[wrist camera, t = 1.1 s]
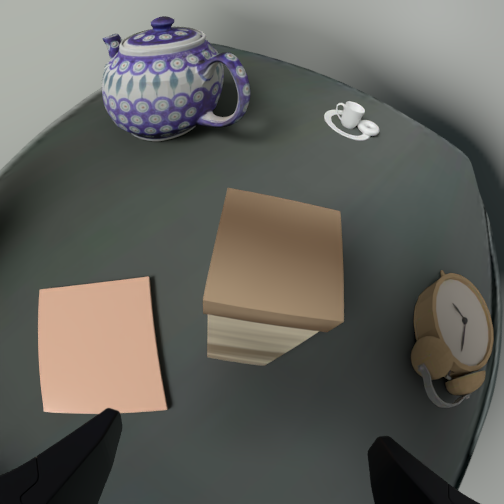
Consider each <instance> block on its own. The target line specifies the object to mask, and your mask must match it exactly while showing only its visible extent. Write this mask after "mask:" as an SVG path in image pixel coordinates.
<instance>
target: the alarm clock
mask: <svg viewBox="0 0 504 504" xmlns="http://www.w3.org/2000/svg"><path fill="white" fill-rule="evenodd" d="M440 274H441V278H440V279H439V280H437V281H436V282H435V283H433V284H432V285H431V286H430V287H427V288H426V289H425V290H424V291H423V292H422V293H421V294H420V295H419V297H418V300H417V303H416V305H415V310H414V321H413V322H414V329H415V337H416V340H417V342H416V343H415V345H414V347H413V349H412V352H411V362H412V366H413V368H414V370H415V371H416V372H417V373H418V374H419V375H420V376H421V377H423V382H424V387H425V391H426V393H427V395H428V397H429V399H430V400H431V401H432V402H433V403H434V404H435V405H436V406H438V407H441V408H449V407H454V406H456V405H458V404H460V403H461V402H462V401H463V400H464V399H469V397H470V394H472V393H471V392H473V391H475V390H477V389H478V388H479V387H480V386H481V385H482V383H483V382H484V379H485V371H480V372H476V373H472V374H469V375H467V374H468V373H471V372H473V371H477V370H479V369H481V368H482V367H483V366H484V365H485V364H486V363H487V361H488V359H489V357H490V355H491V351H492V346H493V326H492V321H491V316H490V313H489V310H488V308H487V305H486V303H485V300H484V299H483V297H482V296H481V294H480V292H479V291H478V289H477V288H476V287H475V286H474V285H473V284H472V283H471V282H470V281H469V280H468V279H466V278H464V277H463V276H461V275H459V274H454V273H449V274H445V273H444V271H443V270H441V271H440ZM463 375H464V376H463ZM461 376H462V377H461ZM441 377H445V378H446V379H448V380H450V381H447V382H445V385H446V389H447V390H448V392H449V393H451V394H453V395H464V396H461V397H459V398H458V399H457V400H456V401H455V402H454V403H452V404H449V403H446V402H444V401H443V400H441V399H440V397H439V396H438V395H437V394H436V392H435V390H434V387H433V384H432V380H435V379H440V378H441ZM453 378H456V379H453ZM451 379H453V380H451Z"/></svg>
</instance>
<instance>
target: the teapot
mask: <svg viewBox="0 0 504 504" xmlns="http://www.w3.org/2000/svg"><path fill="white" fill-rule="evenodd" d="M173 23H174V19H172V18H170V17H159V18H156V19H154V20H153V21H152V22H151V26H152V27H153V29H150V30H146V31H142V32H139V33H136V34H133V35H131V36H129V37H127V38H126V39H124V40H123V41H122V39H121V37H120V36H119V35H118V34H114V35H111V36H109V37H105V38H103V41H104V42H105V44H106V46H107V48H108V51H109V55H110V61H109V62H108V63H107V64H106V66H105V70H104V74H103V79H102V93H103V100H104V105H105V108H106V110H107V112H108V114H109V115H110V117H111V118H112V120H113V121H114V122H115V124H116V125H117V126H119V127H120V128H121V129H123V130H125V131H128V132H130V133H131V134H132V135H134V136H135V137H138V138H140V139H143V140H148V141H164V140H168V139H172V138H175V137H178V136H181V135H183V134H185V133H187V132H189V131H190V130H192V129H193V128H194V127H196V126H197V125H203V126H209V127H225V126H230V125H232V124H234V123H236V122H237V121H239V120H240V119H241V118H242V116H243V115H244V114H245V112H246V110H247V107H248V104H249V100H250V85H249V81H248V77H247V74H246V72H245V70H244V68H243V66H242V64H241V63H240V61H239V60H238V58H237V57H236V56H234V55H233V54H231V53H227V52H226V53H220V54H219V53H218V52H217V51H216V50H215V49H214V48H213V47H212V46H211V45H210V43H209V42H208V41H207V40H205V38H206V35H205V33H204V32H202V31H200V30H197V29H193V28H187V27H171V26H172V24H173ZM223 64H224V65H225V66H226V67H227V68H228V69H229V71H230V73H231V74H232V76H233V79H234V81H235V84H236V87H237V92H238V103H237V107H236V110H235V112H234V113H233V114H232V115H230V116H228V117H218V116H216V115H214V114H213V110H214V109H215V108H216V105H217V102H218V100H219V98H220V95H221V91H222V87H223V79H224V69H223Z"/></svg>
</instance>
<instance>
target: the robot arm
mask: <svg viewBox="0 0 504 504" xmlns="http://www.w3.org/2000/svg"><path fill="white" fill-rule="evenodd" d="M121 432H122V421H121V415H120V412H119V411H118V410H115V409H112V408H106V409H105V410H104V411H102V412H101V413H99V414H98V415H96V416H95V417H94V418H92V419H91V420H89V421H88V422H87V423H85V424H84V425H82V426H81V427H79V428H78V429H76V430H75V431H74V432H72V433H71V434H69V435H68V436H66V437H65V438H63V439H62V440H60V441H59V442H57V443H56V444H54V445H53V446H51V447H50V448H48V449H47V450H45V451H44V452H42V453H41V454H39V455H38V456H37V457H34V458H33V459H31V460H30V461H28V462H26V463H25V464H23V465H21V466H20V467H18V468H16V469H14V470H12V471H9V472H7V473H5V474H3V475H0V504H98V501H99V499H100V496H101V494H102V491H103V489H104V486H105V483H106V481H107V478H108V476H109V474H110V471H111V468H112V466H113V462H114V458H115V454H116V450H117V446H118V443H119V439H120V435H121ZM368 462H369V471H370V481H371V488H372V493H373V497H374V502H375V504H480V503H478V502H476V501H474V500H472V499H470V498H469V497H467V496H466V495H464V494H462V493H461V492H459V491H458V490H457V489H455V488H454V487H452V486H451V485H450V484H448V483H447V482H446V481H444V480H443V479H442V478H440V477H439V476H438V475H437V474H435V473H434V472H433V471H431V470H430V469H429V468H428V467H426V466H425V465H424V464H422V463H421V462H420V461H419V460H417V459H416V458H415V457H414V456H412V455H411V454H410V453H409V452H408V451H406V450H405V449H404V448H403V447H401V446H400V445H399V444H398V443H397V442H395V441H394V440H393V439H392V438H391V437H389V436H381V437H378V438H377V439H376V440H375V442H374V443H373V444H372V446H371V447H370V448H369V450H368Z"/></svg>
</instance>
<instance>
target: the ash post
mask: <svg viewBox="0 0 504 504" xmlns="http://www.w3.org/2000/svg"><path fill="white" fill-rule="evenodd" d="M203 314H208V340H207V357H209V358H215V359H221V360H227V361H233V362H239V363H246V364H253V365H261V366H265V365H266V364H268V363H270V362H271V361H273V360H275V359H276V358H278V357H280V356H281V355H283V354H285V353H286V352H288V351H289V350H291V349H293V348H294V347H296V346H297V345H299V344H301V343H302V342H304V341H305V340H307V339H308V338H310V337H311V336H313V335H314V334H316V333H317V332H319V331H321V332H328V331H330V330H332V329H333V328H335V327H336V326H338V325H339V324H341V323H343V322H344V278H343V249H342V230H341V215H340V211H336V210H332V209H328V208H324V207H319V206H315V205H310V204H306V203H301V202H297V201H292V200H288V199H283V198H278V197H273V196H268V195H263V194H258V193H253V192H248V191H242V190H237V189H231V188H228V189H227V194H226V198H225V202H224V206H223V210H222V215H221V219H220V223H219V228H218V232H217V236H216V241H215V245H214V250H213V254H212V259H211V264H210V268H209V273H208V278H207V282H206V287H205V292H204V297H203Z"/></svg>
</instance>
